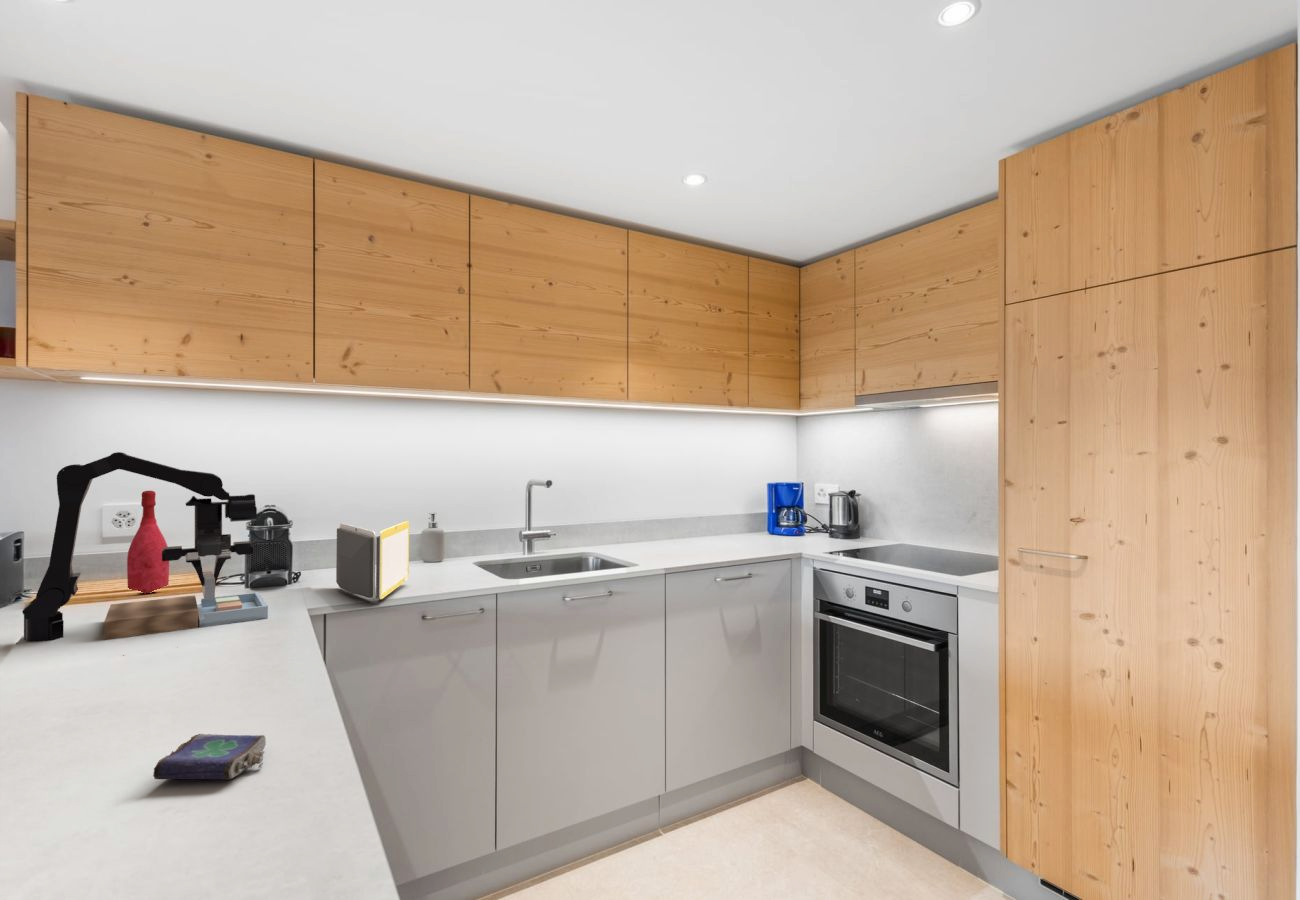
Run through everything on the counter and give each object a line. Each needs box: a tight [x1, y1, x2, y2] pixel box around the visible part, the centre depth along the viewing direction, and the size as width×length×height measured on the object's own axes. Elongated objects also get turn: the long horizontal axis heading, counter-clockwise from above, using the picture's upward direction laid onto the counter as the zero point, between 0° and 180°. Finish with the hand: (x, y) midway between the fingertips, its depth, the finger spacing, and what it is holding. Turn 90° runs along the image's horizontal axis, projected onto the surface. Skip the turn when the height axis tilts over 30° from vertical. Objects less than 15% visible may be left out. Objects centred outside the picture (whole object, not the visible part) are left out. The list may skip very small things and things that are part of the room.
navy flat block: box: [152, 733, 267, 780], centre depth 84 cm, size 9×3×11 cm
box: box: [197, 591, 269, 628], centre depth 165 cm, size 14×20×3 cm
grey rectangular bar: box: [201, 570, 216, 600], centre depth 162 cm, size 2×14×5 cm, turn 37°
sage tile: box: [215, 596, 240, 612], centre depth 168 cm, size 5×5×2 cm
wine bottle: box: [126, 490, 170, 595], centre depth 192 cm, size 10×10×30 cm
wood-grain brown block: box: [103, 595, 199, 641], centre depth 156 cm, size 17×20×4 cm
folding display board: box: [335, 520, 410, 600], centre depth 198 cm, size 35×22×20 cm, turn 44°
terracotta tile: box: [217, 601, 242, 611], centre depth 162 cm, size 5×5×2 cm
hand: (208, 585), depth 163 cm, fingers closed on grey rectangular bar, 2 cm apart
